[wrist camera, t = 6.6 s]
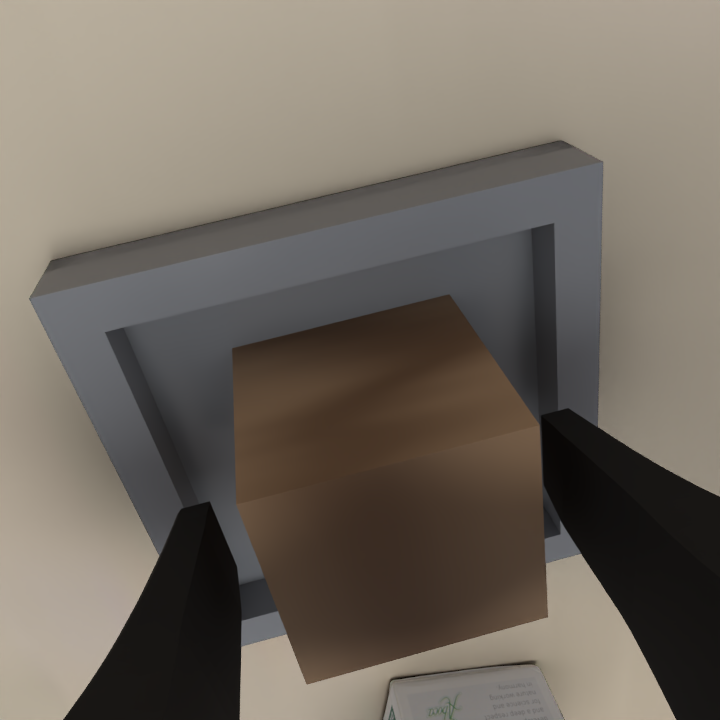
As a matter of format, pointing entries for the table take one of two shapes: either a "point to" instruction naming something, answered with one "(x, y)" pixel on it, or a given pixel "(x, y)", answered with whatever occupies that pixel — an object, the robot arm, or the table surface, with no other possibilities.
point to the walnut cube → (388, 486)
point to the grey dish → (326, 317)
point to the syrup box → (474, 696)
